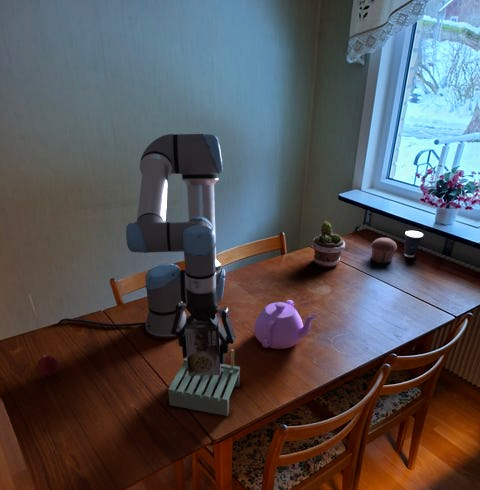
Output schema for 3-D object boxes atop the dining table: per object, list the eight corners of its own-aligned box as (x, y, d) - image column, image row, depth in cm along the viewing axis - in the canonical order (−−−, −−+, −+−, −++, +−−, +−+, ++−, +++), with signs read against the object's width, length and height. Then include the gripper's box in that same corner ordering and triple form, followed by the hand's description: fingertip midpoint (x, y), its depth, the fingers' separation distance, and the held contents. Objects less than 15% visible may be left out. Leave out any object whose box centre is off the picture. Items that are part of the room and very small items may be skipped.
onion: (53, 367, 141) (48, 346, 137) (64, 374, 138) (58, 354, 134) (36, 376, 137) (30, 355, 133) (46, 384, 134) (40, 363, 130)
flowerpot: (348, 267, 203) (355, 225, 192) (317, 271, 199) (322, 229, 188) (334, 254, 214) (340, 214, 203) (304, 258, 211) (308, 217, 200)
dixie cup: (404, 250, 219) (409, 229, 213) (420, 255, 215) (425, 233, 209) (397, 255, 214) (402, 233, 208) (413, 260, 210) (419, 238, 204)
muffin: (371, 263, 206) (375, 243, 201) (366, 253, 216) (370, 234, 210) (397, 264, 206) (401, 244, 201) (391, 254, 215) (395, 234, 210)
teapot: (301, 367, 142) (305, 331, 135) (241, 347, 151) (242, 312, 143) (324, 333, 158) (329, 299, 151) (269, 316, 167) (271, 284, 160)
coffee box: (220, 361, 129) (220, 314, 120) (220, 376, 123) (219, 327, 115) (189, 361, 129) (186, 314, 120) (187, 376, 123) (184, 328, 114)
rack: (169, 405, 127) (165, 369, 120) (186, 374, 139) (183, 340, 132) (227, 416, 124) (227, 380, 117) (239, 383, 135) (240, 349, 128)
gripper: (153, 289, 111) (160, 359, 123) (241, 301, 107) (240, 373, 119) (164, 276, 117) (170, 344, 129) (248, 286, 113) (246, 356, 125)
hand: (204, 358), depth 124 cm, fingers closed on coffee box, 10 cm apart
